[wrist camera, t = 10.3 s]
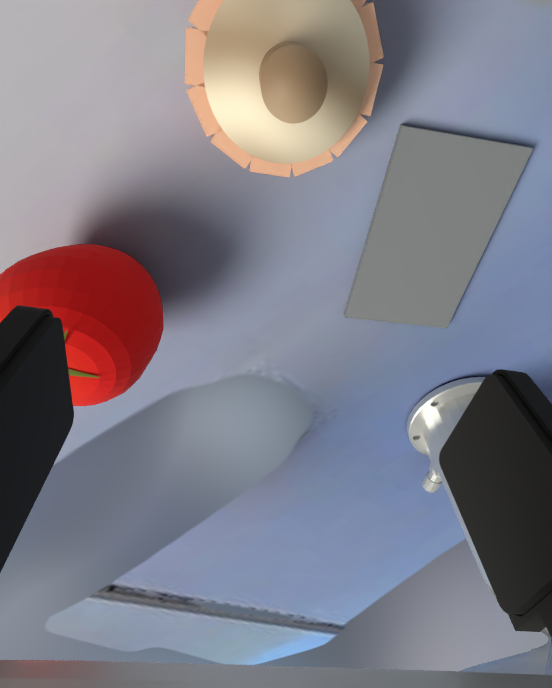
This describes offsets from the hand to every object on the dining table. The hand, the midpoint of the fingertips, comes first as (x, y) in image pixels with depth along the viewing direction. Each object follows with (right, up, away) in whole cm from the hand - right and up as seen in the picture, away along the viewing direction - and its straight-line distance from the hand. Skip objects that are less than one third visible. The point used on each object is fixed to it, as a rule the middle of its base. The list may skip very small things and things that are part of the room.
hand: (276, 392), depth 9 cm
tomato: (-14, +7, +27) cm, 31 cm away
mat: (+12, +10, +26) cm, 30 cm away
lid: (+1, +16, +14) cm, 22 cm away
